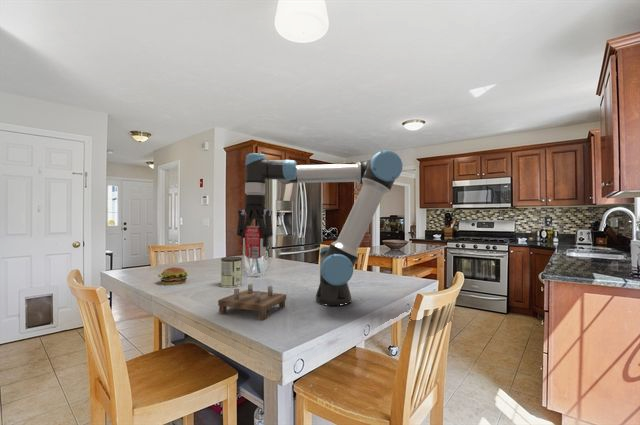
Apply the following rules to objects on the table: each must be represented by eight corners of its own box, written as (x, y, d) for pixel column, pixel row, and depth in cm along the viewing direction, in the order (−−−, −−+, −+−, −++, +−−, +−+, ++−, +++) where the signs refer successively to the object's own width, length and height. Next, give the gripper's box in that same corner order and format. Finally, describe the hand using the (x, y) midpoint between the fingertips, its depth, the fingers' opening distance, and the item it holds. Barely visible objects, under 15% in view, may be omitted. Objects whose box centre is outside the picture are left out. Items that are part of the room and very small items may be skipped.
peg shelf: (286, 307, 121) (286, 285, 122) (263, 320, 105) (263, 295, 106) (245, 302, 128) (245, 281, 128) (218, 313, 112) (218, 290, 112)
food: (157, 281, 166) (157, 266, 166) (185, 279, 173) (186, 265, 173) (157, 286, 154) (158, 270, 154) (188, 284, 161) (188, 268, 161)
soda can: (256, 256, 122) (257, 225, 122) (267, 257, 117) (267, 226, 117) (240, 257, 117) (241, 226, 117) (250, 259, 112) (251, 226, 112)
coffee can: (225, 282, 164) (226, 256, 165) (244, 283, 163) (244, 256, 164) (217, 287, 154) (217, 259, 154) (237, 288, 153) (237, 259, 153)
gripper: (282, 195, 118) (282, 255, 117) (239, 195, 125) (238, 252, 124) (273, 193, 111) (272, 257, 110) (227, 194, 118) (226, 254, 117)
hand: (254, 255), depth 117 cm, fingers closed on soda can, 7 cm apart
